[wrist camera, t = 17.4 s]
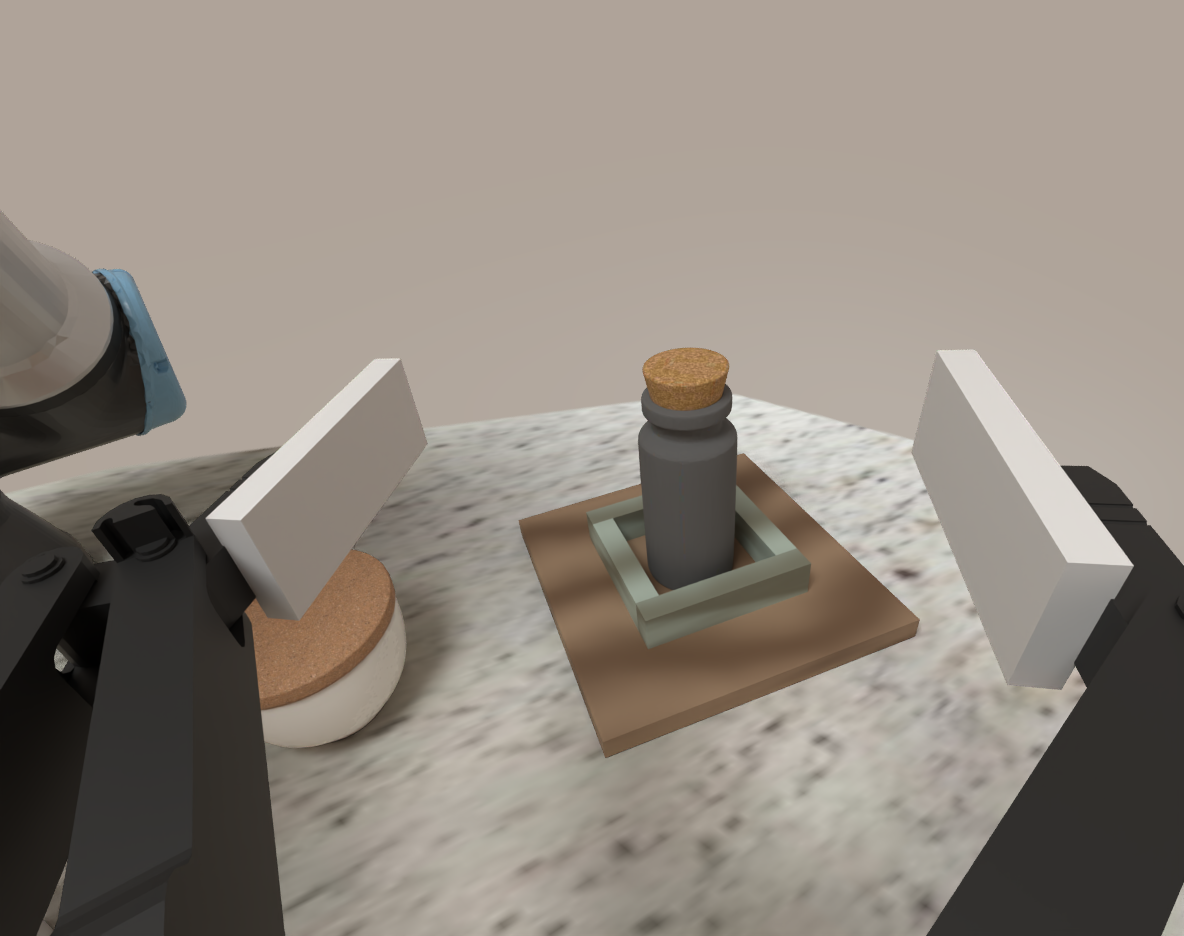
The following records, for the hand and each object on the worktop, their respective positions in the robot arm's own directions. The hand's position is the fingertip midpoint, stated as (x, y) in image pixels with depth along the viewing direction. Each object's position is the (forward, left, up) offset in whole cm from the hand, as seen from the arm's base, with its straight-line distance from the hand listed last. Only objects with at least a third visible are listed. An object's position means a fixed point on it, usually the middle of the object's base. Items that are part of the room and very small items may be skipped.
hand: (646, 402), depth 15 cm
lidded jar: (-15, -16, -24) cm, 32 cm away
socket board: (-15, +8, -24) cm, 29 cm away
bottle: (-15, +8, -22) cm, 28 cm away
